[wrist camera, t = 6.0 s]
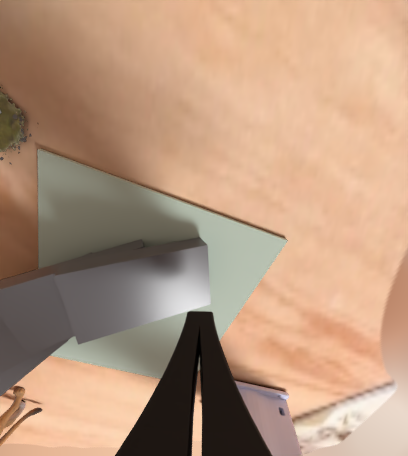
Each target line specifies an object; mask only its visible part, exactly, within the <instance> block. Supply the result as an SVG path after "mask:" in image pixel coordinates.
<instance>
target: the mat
mask: <svg viewBox="0 0 408 456" xmlns="http://www.w3.org/2000/svg"><path fill="white" fill-rule="evenodd" d="M199 237H200V238H201V239H202V240H203V241H204V242H205V243H206V244H207V245H208V261H209V280H210V298H211V304H210V305H207V306H203V307H200V308H197V309H193V310H190V311H210V312H212V313H213V316H214V322H215V326H216V330H217V334H218V337H219V341H220V339H221V338H222V336H223V335H224V333H225V332H226V330H227V329H228V327H229V326H230V325H231V323H232V322H233V320H234V319H235V317H236V316H237V314H238V313H239V311H240V310H241V308H242V307H243V305H244V304H245V303H246V301H247V300H248V298H249V297H250V295H251V294H252V292H253V291H254V289H255V288H256V286H257V285H258V284H259V282H260V281H261V279H262V278H263V276H264V275H265V273H266V272H267V270H268V269H269V267H270V266H271V265H272V263H273V262H274V260H275V259H276V257H277V256H278V254H279V253H280V251H281V250H282V248H283V247H284V246H285V244H286V243H287V241H288V240H287V239H285V238H283V237H280V236H277V235H274V234H272V233H269V232H266V231H264V230H261V229H258V228H255V227H253V226H250V225H247V224H245V223H242V222H239V221H236V220H234V219H231V218H228V217H226V216H223V215H220V214H217V213H215V212H212V211H209V210H206V209H204V208H201V207H198V206H196V205H193V204H190V203H187V202H185V201H182V200H179V199H177V198H174V197H171V196H168V195H166V194H163V193H160V192H158V191H155V190H152V189H149V188H147V187H144V186H141V185H138V184H136V183H133V182H130V181H128V180H125V179H122V178H119V177H117V176H114V175H111V174H109V173H106V172H103V171H100V170H98V169H95V168H92V167H90V166H87V165H84V164H81V163H79V162H76V161H73V160H70V159H68V158H65V157H62V156H60V155H57V154H54V153H51V152H49V151H46V150H43V149H38V269H40V268H44V267H47V266H50V265H54V264H57V263H61V262H64V261H68V260H71V259H75V258H78V257H82V256H84V255H86V254H88V253H90V252H92V253H95V252H99V251H102V250H106V249H109V248H113V247H116V246H119V245H123V244H126V243H130V242H133V241H137V240H140V239H142V241H143V244H144V247H151V246H156V245H162V244H167V243H172V242H178V241H183V240H189V239H194V238H199ZM187 312H189V311H187ZM187 312H184V313H180V314H177V315H174V316H170V317H167V318H164V319H161V320H157V321H154V322H151V323H148V324H144V325H141V326H138V327H134V328H131V329H128V330H125V331H121V332H118V333H115V334H111V335H108V336H105V337H102V338H98V339H95V340H92V341H89V342H85V343H82V344H79V345H78V343H77V340H76V337H75V336H74V337H71V338H70V339H69V340H68V341H67V342H66V343H65V344H64V345H63V346H61V347H60V348H59V349H57V350H56V351H55V352H54V353H52V354H51V355H50V356H55V357H59V358H64V359H69V360H74V361H78V362H83V363H88V364H93V365H97V366H102V367H107V368H112V369H116V370H121V371H126V372H131V373H135V374H140V375H145V376H150V377H154V378H159V379H161V378H162V376H163V374H164V372H165V370H166V368H167V365H168V363H169V361H170V359H171V357H172V355H173V352H174V350H175V348H176V345H177V343H178V340H179V338H180V335H181V332H182V330H183V327H184V323H185V320H186V316H187ZM199 370H200V357H199V365H198V371H199Z"/></svg>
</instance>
